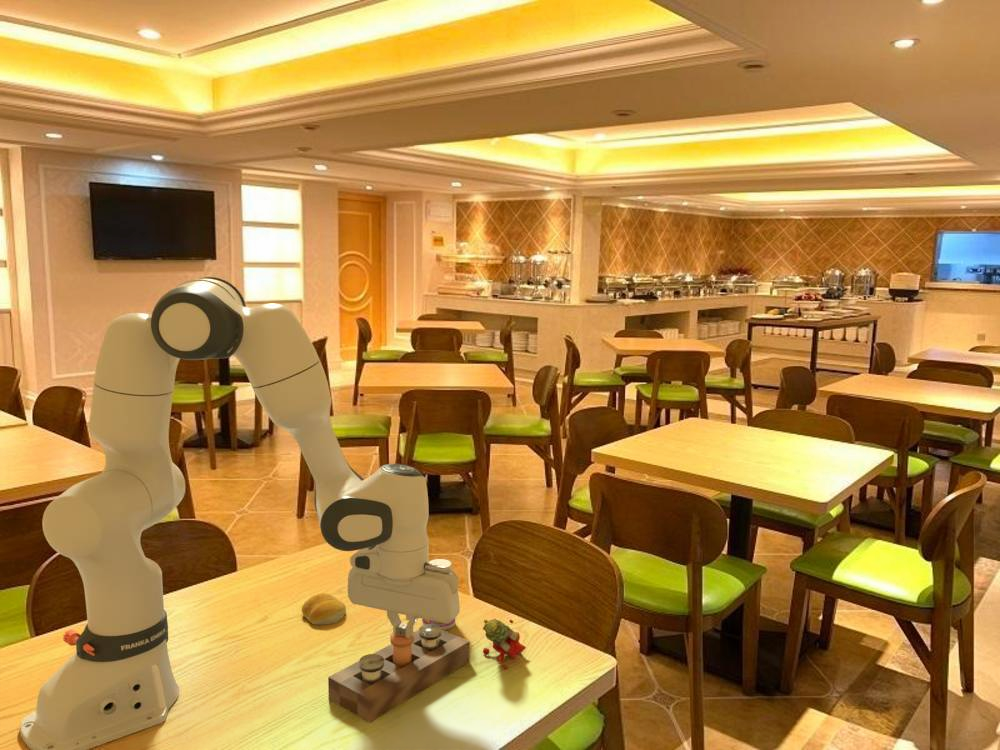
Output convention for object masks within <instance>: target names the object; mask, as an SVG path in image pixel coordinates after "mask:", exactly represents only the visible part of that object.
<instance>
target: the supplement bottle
mask: <svg viewBox="0 0 1000 750" xmlns="http://www.w3.org/2000/svg"><path fill="white" fill-rule="evenodd" d="M429 563H430V564H435V565H438V566H446V567H449V568H450V569H451V570H453V569H452V567H453V566H452V562H451V561H450V560H447V559H445V558H436V559H435V558H434V559H432V560H430V561H429ZM451 574H452V573H451ZM421 621H422V623H421V624H422V626H423V625H425V624H436V625H439V626H440V627H441V630H444V631H447V630H450V629H452V628H453V627H454V625H455V624H456V618H455V619H453V620H452V621H451V622H450V623H448V624H445V623H441V622H436V621H431V620H427V619H422V618H421Z"/></svg>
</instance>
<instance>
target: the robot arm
mask: <svg viewBox="0 0 1000 750" xmlns="http://www.w3.org/2000/svg"><path fill="white" fill-rule="evenodd" d="M246 305H247V304H246V301H245V299H244V297H243V295H242V293H241V292H240V291H239V289H237V287H235V285H233V284H232V283H230V282H229V281H227V280H225V279H221V278H220V277H214V276H207V277H200V278H196V279H191V280H188V281H187V280H186V281H185V282H183V283H180V284H179V285H178V286H176V287H175V288H173V289H171V290H169V291H168V292H166V293H165V294H163V295H162V296H161V297H160V298H159V300H158V301H157V302H156V304H155V306H154V307H153V309H152V313H145V312H130V313H125V314H123V315H120V316H117V317H116V318H114V319H113V320H112V321H111V322H110V323H109V324H108V326H107V328H106V331H105V333H104V336H103V339H102V343H101V346H100V349H99V354H98V357H97V361H96V366H95V373H94V378H93V380H94V381H93V388H92V395H91V396H92V397H91V406H90V414H89V420H88V421H89V423H88V429H89V433H90V436H91V437H92V438H93V439H94V440H95V441H96V442H97V443H99V444H100V445H101V446H102V447H103V450H104V455H105V457H104V458H105V465H104V469H103V470H102V472H101V473H100V474H97V475H95V476H91V477H89V478H88V479H85V480H82V481H79V482H77V483H75V484H73V485H72V486H70V487H69V488H68V489H66V490H65V491H62V493H61V494H59V495H58V496H56V497H55V498H54V499H53V500H52V501H51V502H50V503H49V504H48V505H47V506H46V508H45V510H44V512H43V514H42V531H43V534H44V537H45V539H46V542H48V544H49V546H50V547H51V548H52V549H53V550H54V551H55V552H57V553H58V554H60V555H62V556H63V557H66V558H69V559H70V560H71V561H72V562H73V563H74V565H75V567H76V568H77V569H78V572H79V574H80V577H81V579H82V583H83V589H84V599H85V607H86V618H87V619H86V620H87V623H86V624H85V627H84V628H83V629H84V630H83V631H82V633H79V632H77V631H76V630H75V629H68V630H67V631H65V632H64V634H63V635H62V636H63V637H62V639H63V641H64V643H66V644H67V645H68V646H73V647H74V646H75V649H76V652H75V653H74V654H73V655H72V656H70V657H69V658H68V660H67V661H66V662H65V663H64V664H63V665H62V666H61V667H59V669H58V670H56V672H55V673H54V674H52V675H51V676H50V677H49V679H47V680H45V682H44V683H43V684H42V686H41V687H40V689H39V693H38V696H37V700H36V701H37V702H36V710H35V711H33V712H31V713H30V714H27V715H25V716H24V717H23V719H22V720H21V723H20V730H19V732H20V736H21V739H22V741H23V742H24V744H25V745H26V746H27V747H28V748H29V749H30V750H89V749H93V748H95V747H98V746H100V745H104V744H106V743H109V742H111V741H115V740H118V739H119V738H122V737H125V736H128V735H131V734H134V733H136V732H140V731H142V730H145V729H148V728H150V727H154V726H157V725H159V724H161V723H163V722H165V720H166V719H167V716H168V711H169V709H170V708H171V706H173V704H174V703H175V702H176V700H177V698H178V697H179V694H180V690H179V685H178V683H177V680H176V678H175V676H174V672H173V669H172V665H171V660H170V656H169V649H168V640H169V622H168V614H167V612H166V610H165V607H164V592H163V591H164V588H163V587H164V586H163V572H162V569H161V567H160V565H159V564H158V563H157V562H155V561H154V560H152V559H151V558H148V557H146V556H145V553H144V551H143V547H142V544H141V537H142V532H144V531H145V530H147V529H148V528H150V527H153V526H154V525H156V524H157V523H159V522H161V521H163V520H164V519H166V518H167V517H168V516H169V515H170V514H171V513H172V512H173V511H174V510H175V508H176V507H178V505H180V503H181V501H182V500H183V498H184V497H185V494H186V479H185V477H184V474H183V472H182V471H181V469H180V468H179V467H178V466H177V465H176V464H175V463H174V462H173V460H172V459H173V458H172V455H171V450H170V449H171V448H170V442H169V440H170V439H169V432H170V423H171V414H172V413H171V412H172V405H173V397H174V388H175V381H176V374H177V373H176V372H177V369H178V365H179V363H180V360H186V361H203V360H204V361H206V360H213V359H228V358H230V357H235V358H236V360H238V362H239V363H240V364H241V366H242V368H243V370H244V372H245V373H246V376H247V378H248V381H249V383H250V386H251V387H252V391H253V392H254V394H255V396H256V398H257V400H258V402H259V403H260V406H261V407H262V408H263V410H264V411H265V413H266V414H267V417H269V419H270V421H272V423H273V424H274V425H275V426H276V427H279V428H281V429H283V430H285V431H286V432H288V433H289V434H290V435H291V436H292V437H293V439H294V440H295V441H296V443H297V445H298V447H299V450H300V452H301V454H302V455H303V458H304V460H305V462H306V464H307V466H308V469H309V471H310V474H311V476H312V478H313V482H314V490H313V505H314V508H315V512H316V514H317V519H318V524H319V527H320V532H321V535H322V537H323V539H324V540H325V542H326V543H327V544H328V545H329V546H330V547H332V548H333V549H335V550H339V551H341V552H352V551H354V552H355V551H356V552H355V553H353V554H352V555H351V556H350V558H349V563H350V564H349V565H350V566H351V568H350V570H349V572H348V577H347V597H348V600H349V601H350V602H351V604H354V605H357V606H363V607H367V608H372V609H377V610H381V611H386V617H387V619H388V620H389V622H390V625H391V626H392V633H393V635H396V636H401V637H405V638H410V637H411V636H412V635H413V633H414V626H415V624H416V622H417V621H418V619H421V620H422V619H427V620H431V621H436V622H441V623H445V624H448V623H450V622H451V621H452V620H453V619H455V620H456V619H457V616H458V615H459V613H460V612H461V611H460V610H461V609H460V596H459V590H458V588H459V577H458V574H456V573H455V571H453V569H450V568H449V567H446V566H438V565H435V564H430V563H429V562H430V561H429V559H430V557H429V555H430V552H429V549H430V548H429V547H430V546H429V542H430V540H429V535H428V532H427V524H428V522H429V516H430V514H429V496H428V486H427V481H426V479H425V476H424V475H423V474H422V473H421V472H420V471H419V470H418V469H416V468H415V467H413V466H410V465H408V464H407V465H406V464H401V463H387V464H383V465H381V466H379V468H378V469H377V470H376V471H375V472H374V473H372V474H371V475H370V476H368V477H366V478H363V477H362V476H361V475H360V473H358V472H357V471H355V469H354V468H352V467H351V466H350V464H349V463H348V461H347V459H346V457H345V455H344V452H343V450H342V448H341V446H340V443H339V440H338V439H337V438H338V437H337V436H336V433H335V431H334V429H333V425H332V421H331V405H332V398H331V397H332V396H331V391H330V387H329V383H328V379H327V375H326V373H325V368H324V367H323V364H322V361H321V360H320V357H319V355H318V353H317V350H316V348H315V346H314V344H313V342H312V341H311V340H312V339H311V338H310V337H309V335H308V333H307V332H306V330H305V328H304V327H303V325H302V324H301V322H300V320H299V318H298V317H297V316H296V315H295V313H294V311H293V310H291V308H289V307H288V306H286V305H285V304H281V303H263V304H259V305H257V306H252V307H247V306H246ZM451 573H452V574H451ZM400 615H404V616H405V620H406V621H408V622H407V623H405V622H402V619H401V618H400Z"/></svg>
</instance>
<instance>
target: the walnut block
mask: <svg viewBox="0 0 1000 750" xmlns="http://www.w3.org/2000/svg"><path fill="white" fill-rule="evenodd" d="M413 634H414V642H413V643H412V650H411V663H410V664H408V665H406V666H404V667H403V668H401V667H399V666H397V665H395V664H393V645H392V644H391V643H390V644H389V645H387V646H385V647H383V648H381V649H378V650H377V651H376V652H373V653H372V654H378V655H381V656H382V657H383V658H384V667H383V668H382V669H381V680H379V681H378V682H376V683H374V684H372V685H369V684H367V683H365V682H363V681H362V670H361V669H360V668H359V660H358V661H356V662H354V663H352V664H351V665H349V666H347V667H345V668H343V669H340V670H338V671H337V672H335V673H334V674H332V675H329V676H328V680H327V681H328V682H327V684H328V686H327V689H328V700H329V701H330V702H333V703H334V704H336V705H338V706H339V707H341V708H343V709H344V710H347V711H348V712H350V713H351V714H354V715H355V716H357V717H358V718H360V719H362V720H363V721H365V722H367V723H369V724H370V723H372V722H374V721H375V720H377V719H378V718H380V717H382V716H383V715H385V714H387V713H388V712H390V711H391V710H393V709H394V708H395V709H396V707H398V706H400V705H401V704H403V703H404V702H407V701H408V700H409V699H411V698H412V697H414V696H416V695H418V694H419V693H421V692H422V691H424V690H426V689H427V688H429V687H431V686H432V685H434V684H436V683H437V682H439V681H440V680H442V679H443V678H445V677H447V676H448V675H450V674H453V672H455V671H456V670H459V669H460V668H461V667H463V666H465V665H467V664H468V663H470V641H469V640H467V639H465V638H463V637H460V636H458V635H455V634H453V633H450V632H448V631H447V630H441V636H440V637H439V647H438V648H436V649H435V650H433V651H431V652H430V651H428V650H426V649H423V648H421V637H420V636H419V629H418V630H416V631H413Z"/></svg>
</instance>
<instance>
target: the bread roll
mask: <svg viewBox="0 0 1000 750" xmlns="http://www.w3.org/2000/svg"><path fill="white" fill-rule="evenodd" d="M346 611H347V609H346V605H345V603H344V602H343V601H341V600H340V599H338V598H337V597H336V596H334V595H332V594H330V593H323V592H322V593H316V594H314V595H313V596H310V598H308V599H307V600H305V602H304V603H303V605H302V607H301V613H302V616H303V617H305V619H306V620H308V621H309V623H311V624H314V625H330V624H334V623H337V622H339V621H341V620H342V619H343V618H344V616H345V615H346Z"/></svg>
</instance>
